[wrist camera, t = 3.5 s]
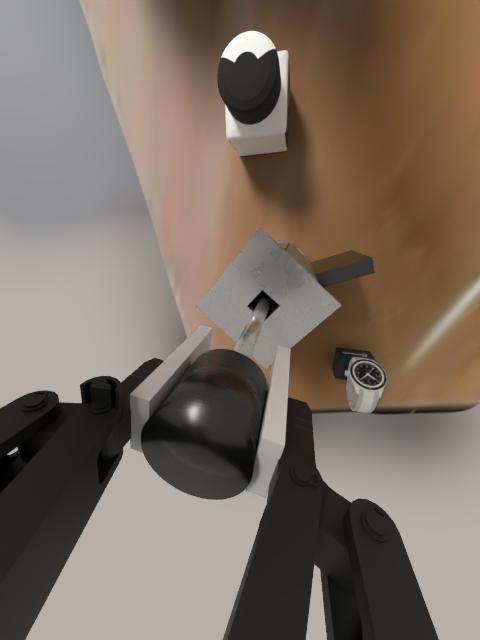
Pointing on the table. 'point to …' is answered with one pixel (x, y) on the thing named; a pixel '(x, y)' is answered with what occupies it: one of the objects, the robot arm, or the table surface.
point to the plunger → (212, 418)
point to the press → (279, 292)
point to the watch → (360, 378)
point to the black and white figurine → (255, 94)
